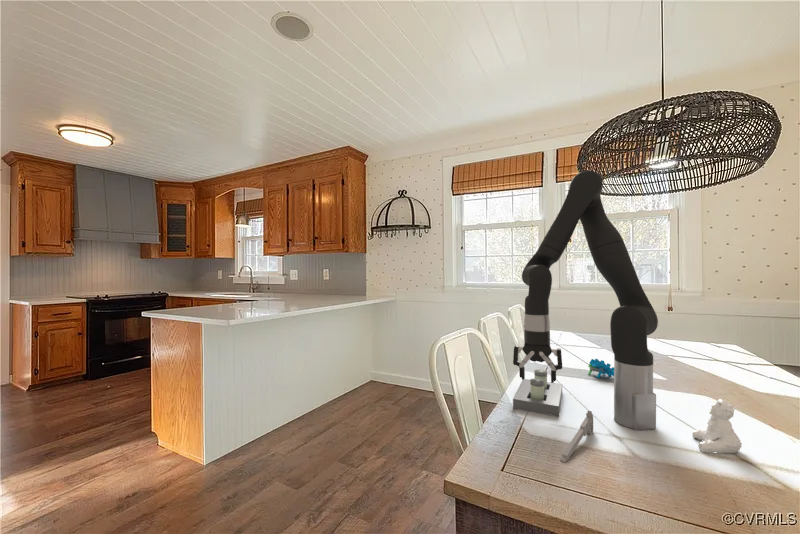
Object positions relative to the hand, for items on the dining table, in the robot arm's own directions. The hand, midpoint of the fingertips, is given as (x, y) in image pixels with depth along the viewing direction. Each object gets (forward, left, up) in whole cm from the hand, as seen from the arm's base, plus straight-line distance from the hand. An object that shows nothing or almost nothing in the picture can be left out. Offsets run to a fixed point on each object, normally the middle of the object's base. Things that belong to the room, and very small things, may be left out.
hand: (537, 380), depth 112 cm
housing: (+6, -3, -8) cm, 11 cm away
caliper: (-24, +2, -9) cm, 25 cm away
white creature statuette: (-28, -31, -9) cm, 43 cm away
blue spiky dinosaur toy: (+26, -40, -9) cm, 49 cm away
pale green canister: (+1, 0, -8) cm, 8 cm away
